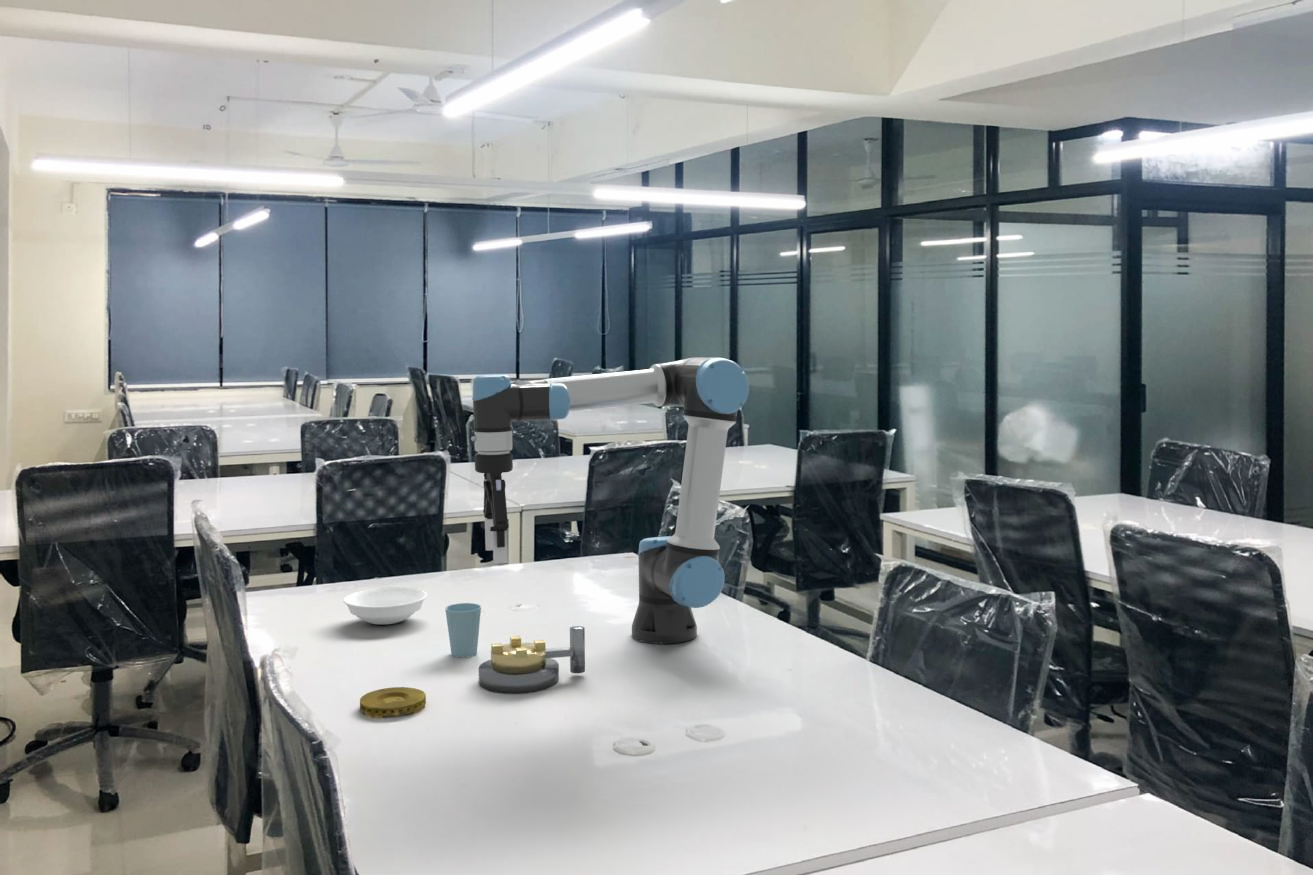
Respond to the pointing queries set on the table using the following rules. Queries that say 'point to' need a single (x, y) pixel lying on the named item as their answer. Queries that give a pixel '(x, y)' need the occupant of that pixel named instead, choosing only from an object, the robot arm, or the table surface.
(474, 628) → the cup
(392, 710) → the gold gear disc
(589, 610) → the table surface
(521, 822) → the table surface
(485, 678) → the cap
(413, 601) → the bowl
